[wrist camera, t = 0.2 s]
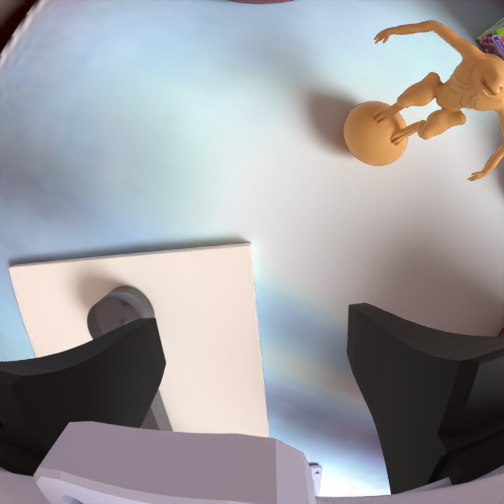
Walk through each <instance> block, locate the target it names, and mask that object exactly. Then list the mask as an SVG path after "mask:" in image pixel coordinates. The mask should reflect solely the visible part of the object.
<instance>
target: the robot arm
mask: <svg viewBox="0 0 504 504" xmlns="http://www.w3.org/2000/svg"><path fill="white" fill-rule="evenodd" d="M347 355H348V358H349V362H350V365H351V369H352V372H353V375H354V377H355V379H356V381H357V384H358V386H359V388H360V390H361V392H362V395H363V397H364V399H365V401H366V403H367V406H368V408H369V410H370V412H371V414H372V417H373V420H374V422H375V425H376V429H377V432H378V436H379V440H380V443H381V447H382V451H383V456H384V460H385V464H386V469H387V474H388V479H389V485H390V491H391V495H381V496H363V497H319V493H320V485H321V476H322V466H321V465H314V466H309V464H308V462H307V460H306V457H305V455H304V453H303V452H301V451H299V450H297V449H295V448H293V447H291V446H289V445H287V444H285V443H283V442H281V441H279V440H277V439H275V438H270V437H261V436H253V435H246V434H239V433H190V432H173V431H160V430H150V429H141V426H142V423H143V421H144V419H145V417H146V415H147V412H148V410H149V408H150V406H151V404H152V402H153V399H154V397H155V395H156V393H157V391H158V389H159V386H160V384H161V381H162V378H163V374H164V370H165V367H166V359H165V355H164V351H163V347H162V343H161V339H160V334H159V330H158V326H157V321H156V318H140V319H136V320H134V321H131V322H129V323H127V324H125V325H123V326H121V327H118V328H116V329H114V330H112V331H110V332H108V333H106V334H104V335H102V336H100V337H98V338H95V339H93V340H91V341H89V342H87V343H84V344H82V345H79V346H77V347H74V348H71V349H68V350H65V351H62V352H59V353H55V354H51V355H47V356H43V357H38V358H33V359H27V360H19V361H8V362H0V504H504V336H501V337H487V336H469V335H462V334H455V333H449V332H444V331H440V330H436V329H432V328H428V327H425V326H422V325H419V324H416V323H413V322H410V321H408V320H405V319H403V318H400V317H398V316H396V315H393V314H391V313H389V312H386V311H384V310H382V309H380V308H377V307H375V306H373V305H370V304H366V303H361V304H352V305H349V316H348V342H347Z"/></svg>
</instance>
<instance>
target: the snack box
mask: <svg viewBox="0 0 504 504" xmlns="http://www.w3.org/2000/svg"><path fill="white" fill-rule="evenodd" d="M476 40H477V41H478V42H479V43H480V45H481V46H482V48H483V49H484V51H485V52H486V53H490V54H494V55H496V56H498V57H500V58H501V59H502V60H503V61H504V17H502V18H501V19H500V20H499V21H497V22H496V23H495V24H493V25H492V26H491V27H489V28H488V29H487V30H486V31H485V32H483V33H482V34H480V35H479V36H478V37H477V38H476Z"/></svg>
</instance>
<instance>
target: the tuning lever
mask: <svg viewBox="0 0 504 504" xmlns="http://www.w3.org/2000/svg"><path fill="white" fill-rule="evenodd" d="M140 318H155V313H154V309H153V306H152V304H151V302H150V301H149V299H148V298H147V297H146V296H145V295H144V294H143V293H142V292H140V291H139V290H137V289H135V288H132V287H129V286H120V287H117V288H114V289H113V290H112V291H110V292H109V293H108V294H107V295H105V296H104V297H103V298H102V299H101V300H99V301H98V302H97V303H96V304H95V305H93V306H92V307H91V309H90V310H89V312H88V316H87V327H88V330H89V333H90V335H91V337H92V339H95V338H98V337H100V336H102V335H104V334H106V333H108V332H110V331H112V330H114V329H116V328H118V327H121V326H123V325H125V324H127V323H129V322H131V321H134V320H136V319H140ZM141 429H150V430H160V431H173V430H172V427H171V424H170V421H169V418H168V415H167V413H166V410H165V407H164V404H163V401H162V398H161V394H160V391H159V389H158V391H157V393H156V395H155V397H154V399H153V402H152V404H151V406H150V408H149V410H148V412H147V415H146V417H145V419H144V421H143V423H142V426H141Z"/></svg>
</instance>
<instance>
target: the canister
mask: <svg viewBox="0 0 504 504" xmlns="http://www.w3.org/2000/svg"><path fill="white" fill-rule="evenodd" d="M233 1H239V2H246V3H280V2H287V1H293V0H233Z"/></svg>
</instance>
